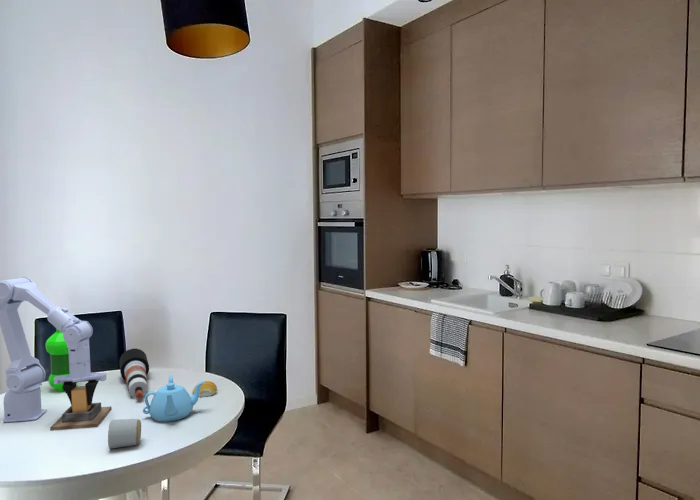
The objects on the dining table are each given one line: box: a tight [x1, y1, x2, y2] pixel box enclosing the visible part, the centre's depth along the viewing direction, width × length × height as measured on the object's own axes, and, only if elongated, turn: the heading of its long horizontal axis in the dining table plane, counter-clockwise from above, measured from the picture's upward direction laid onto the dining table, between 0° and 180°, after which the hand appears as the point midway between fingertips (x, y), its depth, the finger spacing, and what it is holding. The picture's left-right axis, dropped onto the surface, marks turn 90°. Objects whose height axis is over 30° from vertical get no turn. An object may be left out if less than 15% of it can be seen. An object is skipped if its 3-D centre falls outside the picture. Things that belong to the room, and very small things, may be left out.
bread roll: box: [192, 380, 218, 398], centre depth 178 cm, size 8×9×4 cm
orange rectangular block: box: [71, 385, 91, 413], centre depth 155 cm, size 4×4×7 cm
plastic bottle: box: [45, 325, 78, 392], centre depth 184 cm, size 10×10×25 cm
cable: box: [118, 348, 150, 400], centre depth 184 cm, size 10×34×10 cm, turn 24°
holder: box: [49, 402, 112, 431], centre depth 156 cm, size 13×14×4 cm
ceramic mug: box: [107, 418, 142, 450], centre depth 139 cm, size 10×8×7 cm
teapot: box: [142, 375, 205, 423], centre depth 158 cm, size 15×15×10 cm
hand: (81, 404), depth 155 cm, fingers closed on orange rectangular block, 4 cm apart
